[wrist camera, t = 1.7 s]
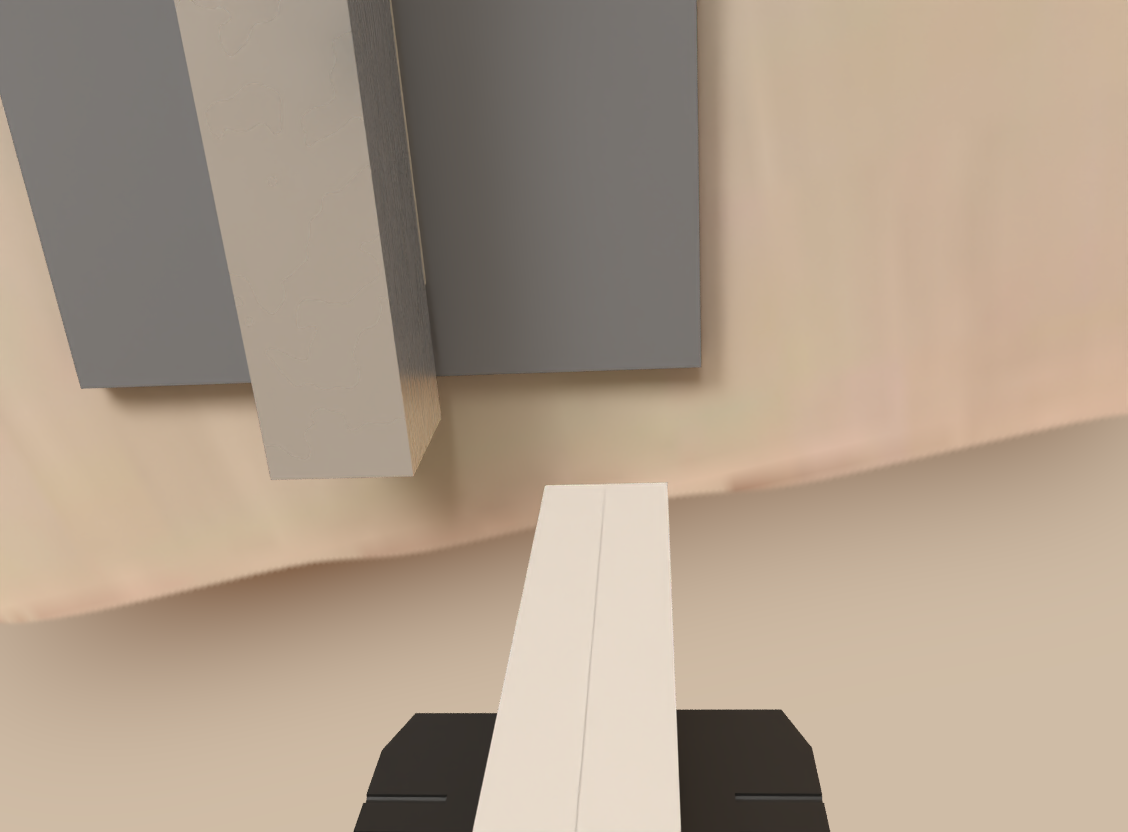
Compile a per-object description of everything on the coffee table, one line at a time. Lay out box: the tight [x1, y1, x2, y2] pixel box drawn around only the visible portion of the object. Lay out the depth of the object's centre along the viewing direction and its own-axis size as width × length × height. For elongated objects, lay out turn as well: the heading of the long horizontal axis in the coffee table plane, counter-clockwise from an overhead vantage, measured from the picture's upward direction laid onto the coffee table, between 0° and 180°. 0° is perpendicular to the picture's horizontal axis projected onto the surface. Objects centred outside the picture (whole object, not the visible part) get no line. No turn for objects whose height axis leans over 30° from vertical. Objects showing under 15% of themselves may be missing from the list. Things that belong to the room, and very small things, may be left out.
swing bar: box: [174, 0, 441, 480], centre depth 24 cm, size 21×4×6 cm, turn 4°
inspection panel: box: [0, 0, 701, 389], centre depth 28 cm, size 20×20×1 cm
